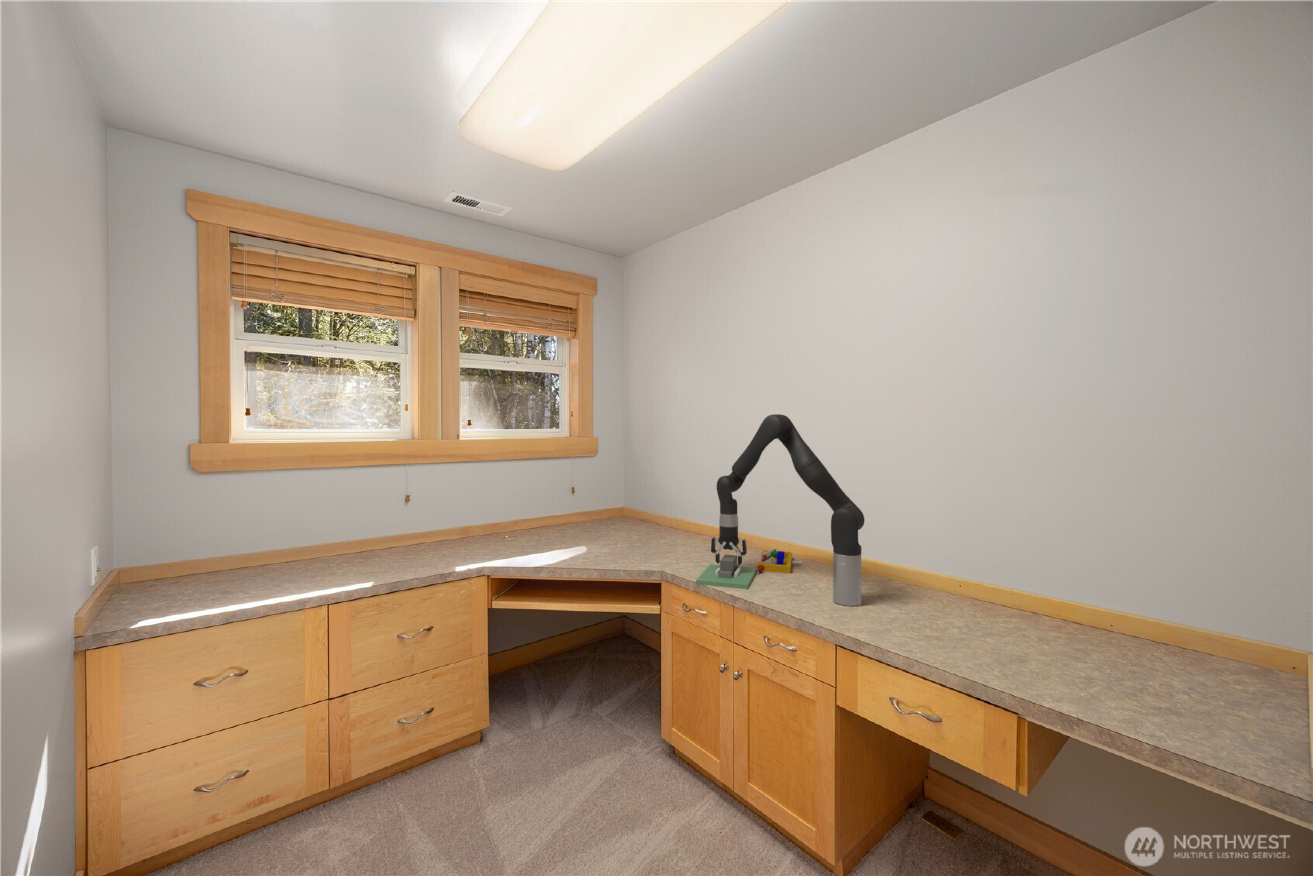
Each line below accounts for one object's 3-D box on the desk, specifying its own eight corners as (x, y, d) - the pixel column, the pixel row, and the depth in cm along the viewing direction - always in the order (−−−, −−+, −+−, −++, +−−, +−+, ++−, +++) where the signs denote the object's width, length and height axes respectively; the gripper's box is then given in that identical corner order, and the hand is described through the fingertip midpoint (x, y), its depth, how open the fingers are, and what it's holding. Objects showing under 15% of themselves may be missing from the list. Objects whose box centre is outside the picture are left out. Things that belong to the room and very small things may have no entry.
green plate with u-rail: (756, 571, 221) (757, 564, 221) (747, 589, 199) (747, 581, 199) (710, 567, 228) (710, 560, 228) (695, 583, 205) (695, 576, 205)
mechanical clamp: (755, 559, 219) (761, 543, 248) (755, 574, 219) (761, 556, 248) (801, 563, 214) (802, 546, 243) (801, 578, 214) (802, 559, 243)
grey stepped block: (725, 568, 221) (725, 554, 221) (737, 569, 219) (737, 555, 219) (718, 577, 209) (718, 562, 208) (730, 578, 207) (730, 563, 207)
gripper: (709, 525, 213) (709, 565, 214) (744, 527, 209) (744, 568, 209) (713, 521, 220) (713, 560, 221) (747, 523, 216) (747, 563, 216)
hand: (728, 564), depth 215 cm, fingers open, 8 cm apart
